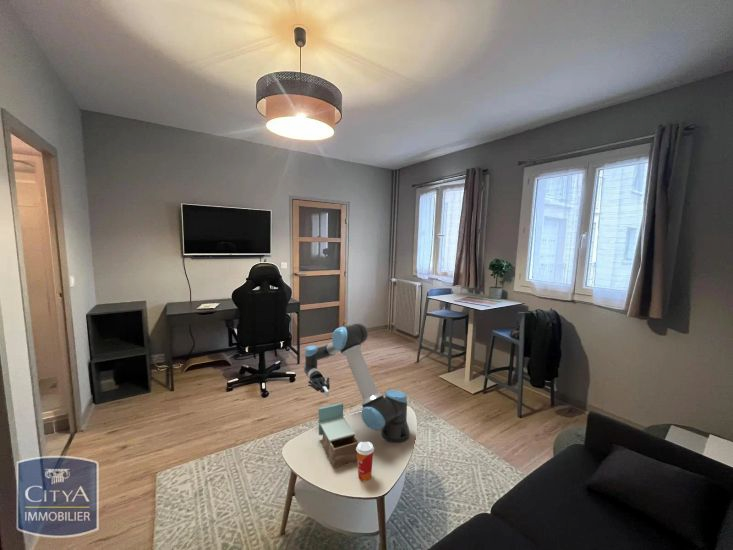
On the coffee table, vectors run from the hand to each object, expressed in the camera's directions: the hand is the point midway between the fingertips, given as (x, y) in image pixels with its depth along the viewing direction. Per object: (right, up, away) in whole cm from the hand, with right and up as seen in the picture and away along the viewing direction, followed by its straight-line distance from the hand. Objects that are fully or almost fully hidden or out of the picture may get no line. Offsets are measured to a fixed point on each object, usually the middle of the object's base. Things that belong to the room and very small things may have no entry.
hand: (327, 393), depth 163 cm
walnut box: (+9, -23, -17) cm, 29 cm away
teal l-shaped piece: (+6, -19, -11) cm, 23 cm away
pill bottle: (+20, -24, -31) cm, 44 cm away
